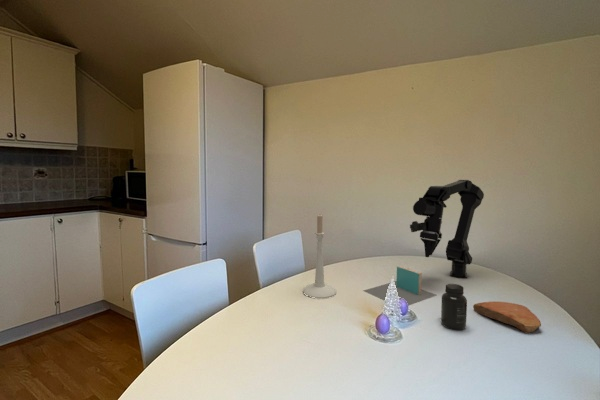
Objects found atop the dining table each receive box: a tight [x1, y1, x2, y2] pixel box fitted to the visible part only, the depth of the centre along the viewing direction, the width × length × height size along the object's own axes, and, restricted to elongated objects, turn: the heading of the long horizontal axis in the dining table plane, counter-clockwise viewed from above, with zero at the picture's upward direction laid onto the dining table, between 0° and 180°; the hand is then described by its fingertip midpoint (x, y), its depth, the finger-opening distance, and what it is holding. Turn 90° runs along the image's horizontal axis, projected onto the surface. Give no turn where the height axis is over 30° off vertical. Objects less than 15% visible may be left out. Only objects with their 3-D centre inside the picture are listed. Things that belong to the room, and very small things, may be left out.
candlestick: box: [302, 214, 337, 299], centre depth 118 cm, size 13×13×30 cm
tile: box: [396, 265, 422, 295], centre depth 119 cm, size 2×10×8 cm, turn 33°
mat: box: [362, 280, 438, 307], centre depth 117 cm, size 20×18×1 cm
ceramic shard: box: [472, 301, 542, 334], centre depth 96 cm, size 15×6×15 cm
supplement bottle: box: [440, 283, 468, 331], centre depth 93 cm, size 7×7×12 cm
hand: (428, 256), depth 125 cm, fingers open, 9 cm apart
